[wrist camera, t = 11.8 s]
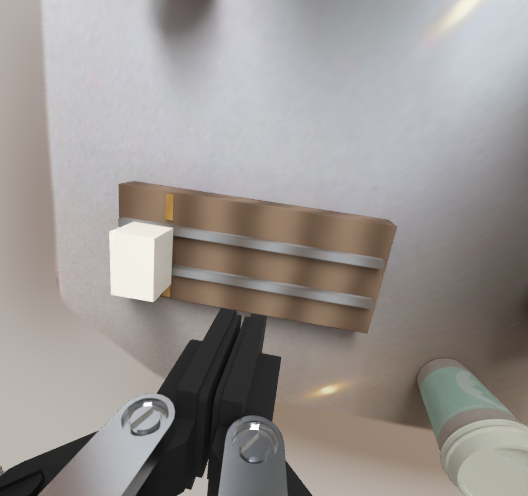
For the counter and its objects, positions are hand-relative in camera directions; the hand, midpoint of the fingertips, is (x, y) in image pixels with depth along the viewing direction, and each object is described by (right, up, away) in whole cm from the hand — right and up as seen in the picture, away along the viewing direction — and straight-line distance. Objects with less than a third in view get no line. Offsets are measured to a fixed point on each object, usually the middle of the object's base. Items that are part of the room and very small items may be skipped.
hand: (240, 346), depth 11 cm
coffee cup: (+22, -12, +26) cm, 36 cm away
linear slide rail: (-1, +3, +24) cm, 24 cm away
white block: (-10, +4, +21) cm, 24 cm away
